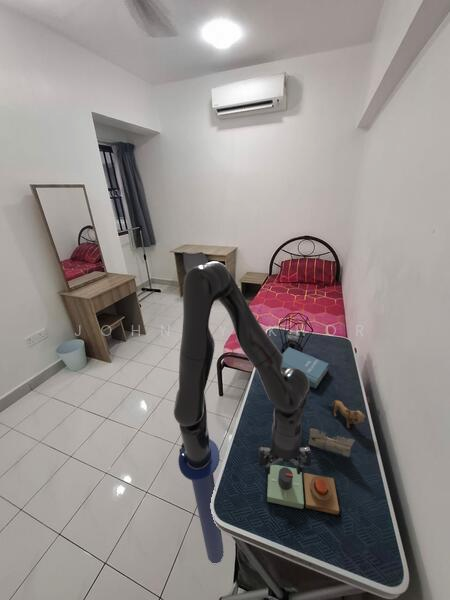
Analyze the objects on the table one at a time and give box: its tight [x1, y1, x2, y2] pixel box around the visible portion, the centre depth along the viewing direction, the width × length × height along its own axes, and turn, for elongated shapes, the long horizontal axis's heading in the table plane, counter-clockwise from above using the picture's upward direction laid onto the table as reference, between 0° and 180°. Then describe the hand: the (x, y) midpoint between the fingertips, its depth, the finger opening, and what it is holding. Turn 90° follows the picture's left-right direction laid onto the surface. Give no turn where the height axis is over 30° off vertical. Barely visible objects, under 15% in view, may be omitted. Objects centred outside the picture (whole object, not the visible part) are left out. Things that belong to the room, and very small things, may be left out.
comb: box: [307, 427, 356, 458], centre depth 87 cm, size 15×2×10 cm, turn 70°
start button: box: [315, 479, 328, 495], centre depth 75 cm, size 4×4×2 cm
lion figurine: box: [327, 400, 366, 429], centre depth 99 cm, size 15×5×9 cm, turn 35°
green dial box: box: [266, 464, 305, 510], centre depth 79 cm, size 11×10×3 cm
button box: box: [302, 472, 340, 516], centre depth 76 cm, size 10×9×4 cm
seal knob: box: [278, 466, 293, 490], centre depth 77 cm, size 4×4×5 cm
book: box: [281, 346, 330, 389], centre depth 126 cm, size 23×16×5 cm
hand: (282, 470), depth 70 cm, fingers open, 8 cm apart
